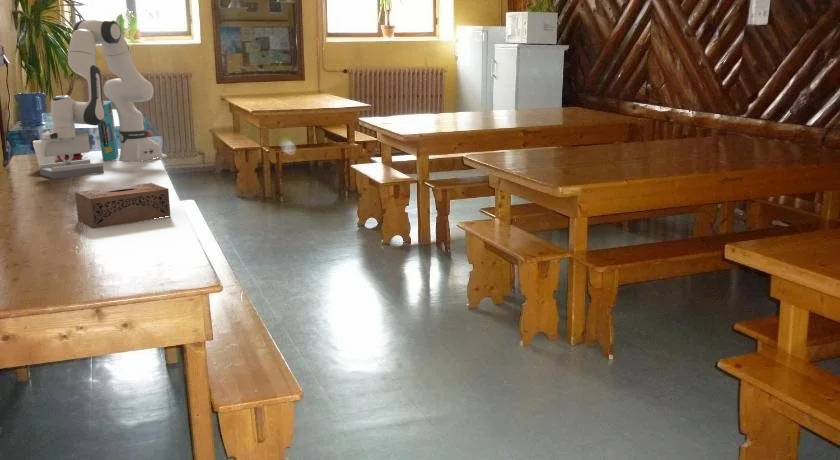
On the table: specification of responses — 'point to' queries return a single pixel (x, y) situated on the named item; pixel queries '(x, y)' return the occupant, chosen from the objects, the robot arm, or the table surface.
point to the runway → (71, 169)
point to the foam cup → (40, 157)
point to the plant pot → (76, 157)
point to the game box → (108, 134)
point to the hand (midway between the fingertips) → (67, 164)
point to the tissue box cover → (122, 205)
